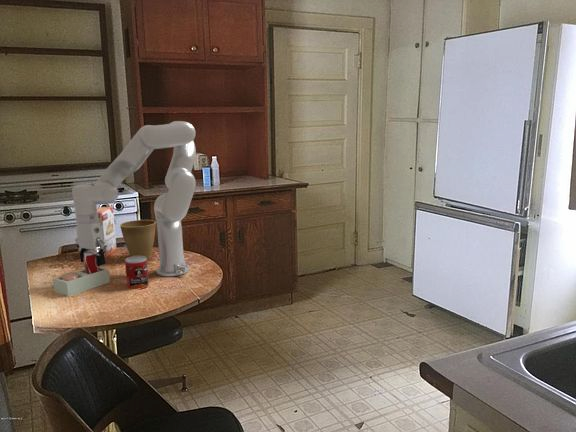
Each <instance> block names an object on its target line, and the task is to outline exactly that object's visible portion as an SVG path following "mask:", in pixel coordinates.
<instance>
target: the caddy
mask: <svg viewBox="0 0 576 432" xmlns="http://www.w3.org/2000/svg"><path fill="white" fill-rule="evenodd" d="M99 267H100V271H99V272H96V273H92V274H87V273H85V268H83V269H79V270H76V271H75V272H76V273H78V278H77V279H74V280H71V281H64V280H62V275H60V276H57V277H54V278H52V283H53V289H54V290H53V292H54V293H56V294H60V295H62V296H67V297H71V296H74V295H77V294H80V293H82V292H85V291H89V290H91V289H95V288H97V287H100V286H103V285H105V284H108V283H111V280H110V271H109V270H110V269H109V268H104V267H101V266H99Z"/></svg>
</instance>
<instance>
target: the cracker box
mask: <svg viewBox="0 0 576 432" xmlns="http://www.w3.org/2000/svg"><path fill="white" fill-rule="evenodd" d="M114 211H115V210H114V207H113V206H100V207H99V208H97V212H98V220H99V221H98V222H100V225H101V228H102V232H103V237H104V242H105V243H106V245H107V246H106V251H105V254H104V256H105V259H107V258H108V257H109V256H111V255H112V254H114V252H116V251H117V241H116V240H117V237H116V226H115V212H114ZM98 251H100V249H98Z"/></svg>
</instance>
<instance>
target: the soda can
mask: <svg viewBox="0 0 576 432" xmlns="http://www.w3.org/2000/svg"><path fill="white" fill-rule="evenodd" d="M96 256H97V254H96V253H95V251H94V250H88V251H86V252H84V255H83V260H84V262H83V269H85V273H87V274H92V273H96V272H99V271H100V267H101V266H97V261H96Z"/></svg>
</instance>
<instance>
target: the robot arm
mask: <svg viewBox="0 0 576 432" xmlns="http://www.w3.org/2000/svg"><path fill="white" fill-rule="evenodd" d="M196 133H197V132H196V129H195V127H194V126H193V124H191V122H188V121H185V120H184V121H182V120H175V121H171V122H170V123H166V124H157V125H156V124H155V125H153V124H152V125H151V124H146V125H144V126H141V127H140V128H139V130H138V131H136V133H135V134H134V135H133V137H132V138H131V139H130V141H129V142H128V143H127V145H126V146H125V147H124V148H123V150H122V151H121V153H120V154H118V156H117V157H116V158H115V159H114V160H113V161H112V162H111V163H110V164H109V165H108V167H107V168H106V169H105V170H104V172H103V173H102V174H101V175H100V176H99V178H98V179H97V180H96V181H95V183H94V185H92V184H90V183H84V184H83V183H82V184H77V185H74V186H73V187H72V189H71V193H72V199H73V208H74V215H75V221H76V238H74V241H75V243H76V247H77V249H78V250H77V251H78V253H79V259H80V263H84V260H83V255H84V252H86V251H92V250H94V251H95V253H96V254H97V256H96V261H97V266H99V267H101V266H104V265H106V258H105V256H104V254H105V251H106V246H107V245H106V243H105V242H104V237H103V232H102V228H101V225H100V222H98V221H99V220H98V212H97V209H98V206H97V204H103V205H106V204H107V205H108V204H112V203H114V202H115V201H116V200H117V199H118V197H119V190H118V188H119V186H120V185H121V183H122V182H123V181H124V180H125V179H126V178H127V177H128V176H130V175H131V174H133V173H135V172H136V171H138V170H140V168H141V167H142V166H143V164H144V163H145V161H146V160H147V159H148V158H149V156H150V155H152V153H153V152H154V150H159V149H167V148H173V154H172V157H171V161H170V164H169V167H168V169H167V172H166V175H165V178H164V184H165V186H166V188H167V189H168V191H167V193H163V194H160V195H159V196H158V197H156V199H155V201H154V205H153V208H154V216H155V222H156V232H157V245H158V246H157V247H158V257H159V267H158V268H156V270H155V272H156V275H158V276H161V277H176V276H181V275H184V274H187V273H188V271H189V269H190V268H191V266H190V265H189V264H187V261H186V260H185V258H184V245H183V244H184V242H183V241H184V240H183V226H182V220H183V219H184V218H185V217H186V215H187V214H188V212H189V208H190V206H191V203H192V199H193V197H194V193H195V190H196V186H197V185H196V183H197V182H196V178H195V176H194V174H193V172H192V170H193V168H194V164H195V159H196V155H197V150H196V144H195V138H196ZM98 249H100V251H98Z"/></svg>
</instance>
